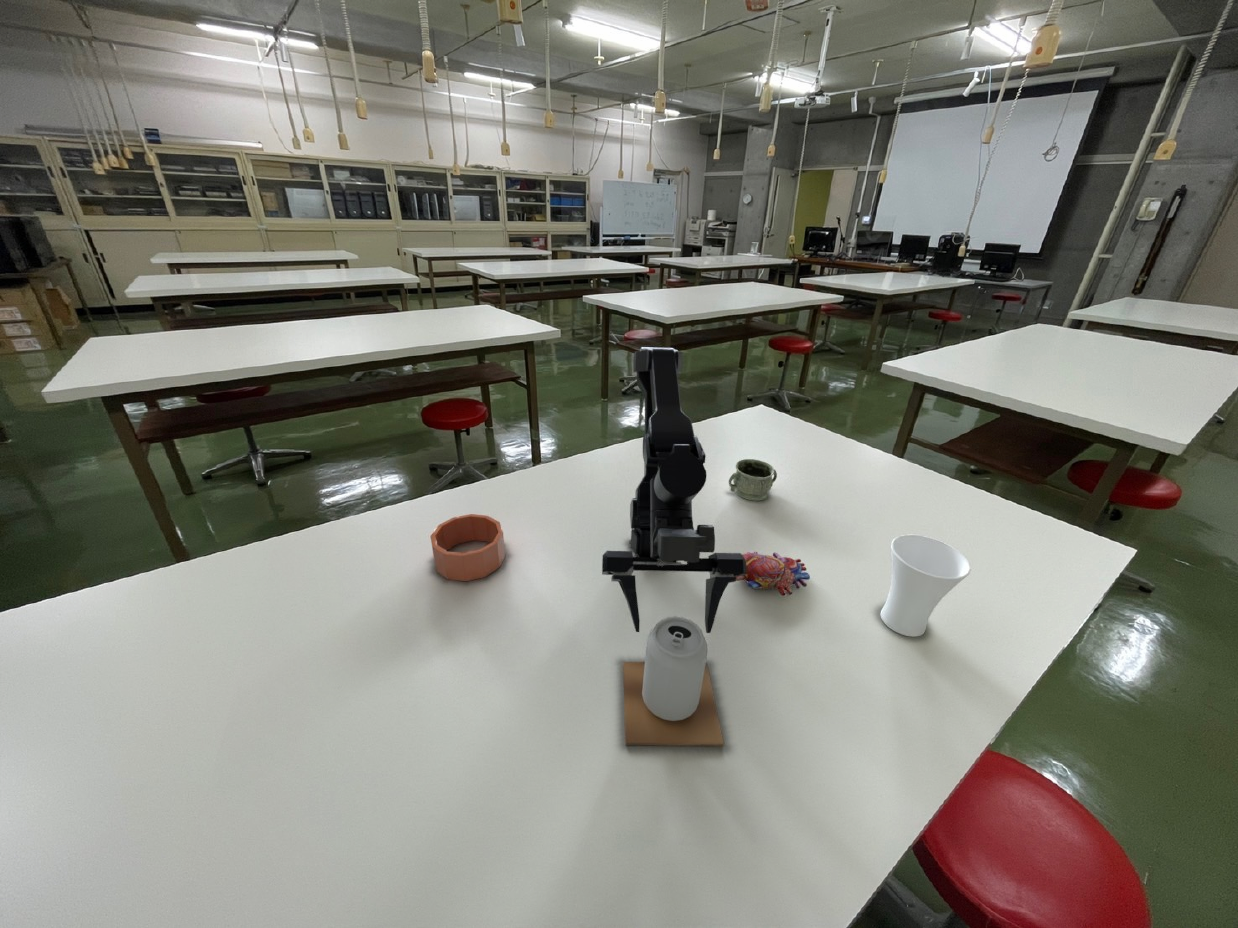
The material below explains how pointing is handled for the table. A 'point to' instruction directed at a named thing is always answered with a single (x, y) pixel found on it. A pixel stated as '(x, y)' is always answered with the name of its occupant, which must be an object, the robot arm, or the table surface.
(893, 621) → the cup
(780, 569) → the anatomical model
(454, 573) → the pot
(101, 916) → the table surface
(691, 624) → the can
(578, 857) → the table surface
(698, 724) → the wooden coaster
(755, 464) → the vessel
